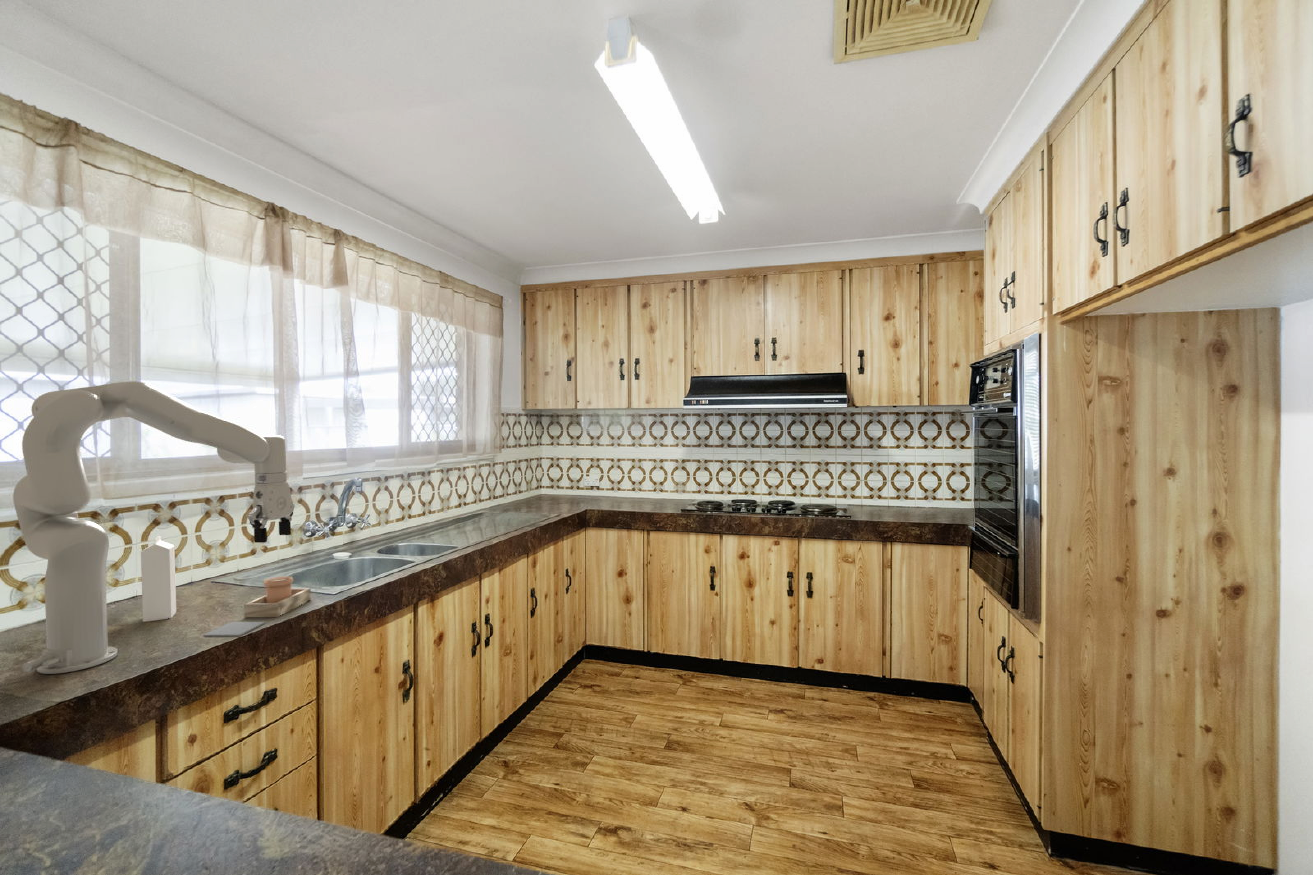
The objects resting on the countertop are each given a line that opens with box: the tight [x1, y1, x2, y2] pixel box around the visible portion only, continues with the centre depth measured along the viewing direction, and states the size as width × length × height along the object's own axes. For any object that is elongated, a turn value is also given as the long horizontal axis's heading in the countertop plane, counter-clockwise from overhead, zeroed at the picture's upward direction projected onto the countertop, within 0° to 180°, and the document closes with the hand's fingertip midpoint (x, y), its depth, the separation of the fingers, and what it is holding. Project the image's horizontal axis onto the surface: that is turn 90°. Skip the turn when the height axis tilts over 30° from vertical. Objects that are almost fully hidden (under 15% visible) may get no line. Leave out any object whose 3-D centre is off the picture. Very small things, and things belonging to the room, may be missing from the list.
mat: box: [203, 621, 266, 637], centre depth 148 cm, size 9×9×1 cm
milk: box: [140, 534, 177, 623], centre depth 158 cm, size 6×6×22 cm
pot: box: [263, 576, 294, 603], centre depth 165 cm, size 7×7×8 cm
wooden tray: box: [243, 587, 312, 618], centre depth 165 cm, size 15×9×4 cm, turn 0°
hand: (273, 538), depth 165 cm, fingers open, 9 cm apart
